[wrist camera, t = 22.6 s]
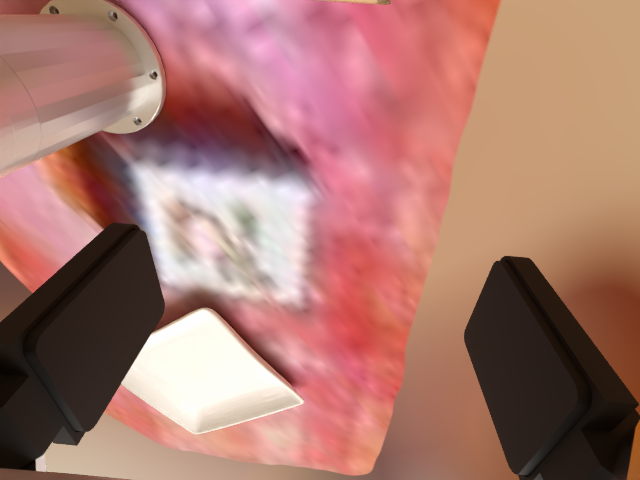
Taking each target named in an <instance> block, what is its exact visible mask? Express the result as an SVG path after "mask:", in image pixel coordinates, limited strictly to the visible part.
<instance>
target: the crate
mask: <svg viewBox="0 0 640 480" xmlns="http://www.w3.org/2000/svg"><path fill="white" fill-rule="evenodd" d="M318 1H333V2H348V3H362V4H377V5H387V4H390V1H391V0H318Z"/></svg>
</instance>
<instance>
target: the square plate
mask: <svg viewBox="0 0 640 480" xmlns="http://www.w3.org/2000/svg"><path fill="white" fill-rule="evenodd" d="M121 385H123V386H124V387H125V388H127V389H128V390H129V391H131V392H132V393H133V394H135V395H137V396H138V397H139V398H141V399H142V400H143V401H145V402H146V403H148V404H149V405H151V406H152V407H153V408H155V409H156V410H158V411H159V412H161V413H162V414H164V415H165V416H167V417H168V418H170V419H171V420H173V421H174V422H176V423H177V424H179V425H180V426H182V427H184V428H185V429H187V430H188V431H190V432H191V433H193V434H196V435H198V434H203V433H206V432H210V431H213V430H217V429H221V428H225V427H228V426H232V425H235V424H239V423H242V422H245V421H249V420H252V419H256V418H259V417H262V416H266V415H269V414H272V413H276V412H279V411H282V410H285V409H288V408H292V407H295V406H298V405H301V404H303V403H304V399H303V398H302V397H301V396H300V395H299V394H298V393H297V391H296V390H295V389H294V388H293V387H292V386H291V385H290V384H289V383H288V382H287V381H286V380H285V379H284V378H283V377H282V376H281V375H280V374H279V373H277V372H276V371H275V370H274V369H273V368H272V367H271V366H270V365H269V364H268V363H267V362H266V361H264V360H263V359H262V358H261V357H260V356H259V355H258V354H257V353H256V352H255V351H254V350H253V349H252V348H251V347H250V346H249V345H248V344H247V343H246V342H245V341H244V340H243V339H242V338H241V337H240V336H239V335H238V334H237V333H236V332H235V330H234V329H233V328H232V327H231V326H230V325H229V324H228V323H227V322H226V321H225V320H224V319H223V318H222V317H221V316H220V315H219V314H218V313H216V312H215V311H214V310H213V309H210V308H200V309H197V310H195V311H192V312H190V313H188V314H187V315H185V316H183V317H181V318H179V319H177V320H175V321H173V322H172V323H170V324H168V325H166V326H164V327H162V328H160V329H158V330H156V331H154V332H152V333H151V335H150V337H149V338H148V340H147V342H146V343H145V345H144V347H143V348H142V350H141V352H140V353H139V355H138V356H137V358H136V360H135V361H134V363H133V365H132V366H131V368H130V370H129V371H128V373H127V374H126V376H125V378H124V379H123V381H122V383H121Z"/></svg>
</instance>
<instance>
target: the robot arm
mask: <svg viewBox="0 0 640 480" xmlns="http://www.w3.org/2000/svg"><path fill="white" fill-rule="evenodd" d="M116 14H117V17H116ZM155 72H156V73H157V75H158V76H157V75H156V74H155ZM165 96H166V79H165V71H164V68H163V64H162V61H161V58H160V56H159V53H158V51H157V49H156V47H155V45H154V43H153V42H152V40H151V39H150V37H149V36H148V34H147V33H146V31H145V30H144V29H143V28H142V27H141V25H140V24H139V23H138V22H137V21H136V20H135V19H134V18H133V17H132V16H131V15H129V14H128V13H127V12H126V11H125V10H124V9H122V8H120V7H119V6H117V5H116V4H114V3H112V2H111V1H108V0H50V1H49V2H48V3H47V4H46V5H45V6H44V7H43V8H42V10H41V11H40V13H39V14H0V178H2V177H4V176H6V175H8V174H10V173H12V172H14V171H17V170H19V169H21V168H23V167H25V166H28V165H30V164H32V163H34V162H36V161H38V160H40V159H42V158H44V157H46V156H48V155H50V154H53V153H55V152H57V151H59V150H61V149H63V148H65V147H67V146H69V145H71V144H73V143H76V142H78V141H80V140H82V139H84V138H86V137H88V136H90V135H92V134H94V133H96V132H98V131H101V130H103V131H105V132H111V133H117V134H119V133H131V132H135V131H138V130H140V129H142V128H144V127H146V126H147V125H148V124H150V123H151V122H153V120H154V119H155V118H156V117H157V116H158V115H159V113H160V111H161V109H162V107H163V104H164V100H165ZM164 308H165V303H164V299H163V295H162V291H161V288H160V284H159V280H158V276H157V273H156V269H155V265H154V262H153V258H152V254H151V250H150V247H149V243H148V239H147V236H146V233H145V232H144V231H142V230H140V228H139V227H138V226H137V225H135V224H123V223H112V224H110V225H109V226H108V227H106V228H105V229H104V230H103V231H102V232H101V233H100V234H99V235H98V236H96V237H95V238H94V239H93V240H92V241H91V242H90V243H89V244H87V245H86V246H85V247H84V248H83V249H82V250H81V251H80V252H79V253H77V254H76V255H75V256H74V257H73V258H72V259H71V260H70V261H68V262H67V263H66V264H65V265H64V266H63V267H62V268H61V269H59V270H58V271H57V272H56V273H55V274H54V275H53V276H52V277H51V278H49V279H48V280H47V281H46V282H45V283H44V284H43V285H42V286H40V287H39V288H38V289H37V290H36V291H35V292H34V293H33V294H32V295H30V296H29V297H28V298H27V299H26V300H25V301H24V302H23V303H22V304H20V305H19V306H18V307H17V308H16V309H15V310H14V311H13V312H11V314H9V315H8V316H7V317H6V318H5V319H4V320H2V321H1V322H0V480H129V479H119V478H108V477H98V476H88V475H77V474H66V473H55V472H46V463H45V451H46V450H47V449H48V447H49V446H50V444H51V443H52V442H53V443H56V444H67V445H78V443H79V442H80V440H81V438H82V437H83V435H84V434H85V432H88V431H90V430H91V429H92V428H94V426H95V425H96V424H97V422H98V420H99V419H100V417H101V416H102V414H103V412H104V411H105V409H106V407H107V406H108V404H109V402H110V401H111V399H112V397H113V396H114V394H115V393H116V391H117V389H118V388H119V386H120V384H121V383H122V381H123V379H124V378H125V376H126V374H127V373H128V371H129V370H130V368H131V366H132V365H133V363H134V361H135V360H136V358H137V356H138V355H139V353H140V352H141V350H142V348H143V347H144V345H145V343H146V342H147V340H148V338H149V337H150V335H151V333H152V332H153V330H154V329H155V327H156V325H157V324H158V322H159V320H160V319H161V317H162V315H163V313H164ZM464 340H465V344H466V347H467V350H468V353H469V356H470V358H471V361H472V364H473V367H474V370H475V372H476V375H477V378H478V381H479V384H480V387H481V389H482V392H483V395H484V398H485V401H486V403H487V406H488V409H489V412H490V415H491V417H492V420H493V423H494V425H495V429H496V431H497V434H498V437H499V440H500V443H501V445H502V448H503V451H504V454H505V457H506V460H507V462H508V465H509V467H510V469H511V470H512V472H513V473H515V474H518V476H519V479H520V480H640V415H639V414H638V412H637V411H636V410H635V408H636V407H637V406H638V405H639V403H638V402H637V401H636V399H635V398H634V397H633V396H632V394H631V393H630V391H629V390H628V389H627V388H626V386H625V385H624V383H623V382H622V381H621V379H620V378H619V377H618V375H617V374H616V373H615V371H614V370H613V369H612V367H611V366H610V365H609V363H608V362H607V361H606V359H605V358H604V356H603V355H602V354H601V352H600V351H599V350H598V349H597V347H596V346H595V345H594V343H593V342H592V340H591V339H590V338H589V336H588V335H587V334H586V332H585V331H584V330H583V328H582V327H581V326H580V324H579V323H578V322H577V320H576V319H575V318H574V316H573V315H572V313H571V312H570V311H569V310H568V308H567V307H566V305H565V304H564V303H563V301H562V300H561V299H560V297H559V296H558V295H557V293H556V292H555V291H554V289H553V288H552V287H551V285H550V284H549V283H548V281H547V280H546V279H545V277H544V276H543V275H542V273H541V272H540V271H539V269H538V268H537V267H536V265H535V264H534V262H533V261H532V260H531V259H529V258H524V257H513V256H504V257H503V258H502V259H501V260H500V261H496V262H495V263H494V264H493V266H492V268H491V271H490V273H489V275H488V278H487V280H486V282H485V285H484V287H483V289H482V292H481V294H480V296H479V299H478V301H477V303H476V306H475V308H474V310H473V313H472V315H471V317H470V319H469V322H468V324H467V326H466V329H465V333H464Z"/></svg>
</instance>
